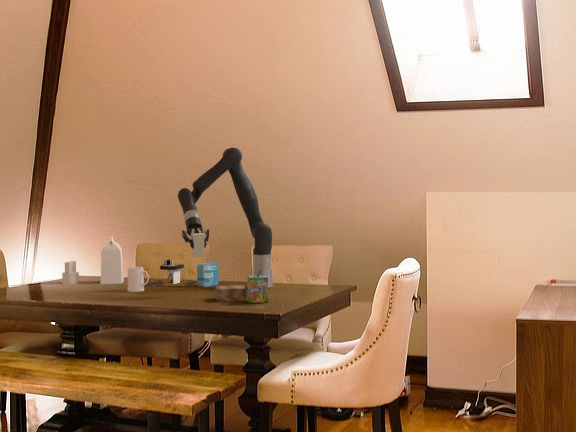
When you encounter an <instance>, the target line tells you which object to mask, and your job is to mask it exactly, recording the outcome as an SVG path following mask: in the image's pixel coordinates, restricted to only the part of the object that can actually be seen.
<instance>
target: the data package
mask: <svg viewBox="0 0 576 432" xmlns="http://www.w3.org/2000/svg"><path fill="white" fill-rule="evenodd" d="M196 278H197V279H196V281H197V283H196V284H197V286H198V287H201V288H206V287H207V288H208V287H215V286H219V263H216V262H206V263H198V264H197V265H196Z"/></svg>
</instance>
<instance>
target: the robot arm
mask: <svg viewBox="0 0 576 432" xmlns="http://www.w3.org/2000/svg"><path fill="white" fill-rule="evenodd" d="M242 153H243V152H242V151H241V150H240V149H239V148H237V147H229V148H226V149H225V150H224V151H223V153H222V156H221V158H220V160H219V161H218V162H216V163H215V165H213V166H211V167H210V168H209V169H208V170H206V171H205V172H204V173H203V174H201V175H200V176H199V177H197V179H196V180H194V181H193V183H192V185H191V186H192V191H191V190H190V189H189V188H187V187H183V188H180V190H179V191H178V192H177V198H178V201H179V204H180V207H181V209H182V213H183V216H184V217H183V218H184V224H185V228H186V230H182V231H181V236H182V238H183V240H184V242H185V243H189V245H190V248H191V250H192V249H194V243H193V240H192V234H197V233H203V234H204V249H206V247H207V242H208V241H209V238H210V229H208V228H207V229H204V228H203V225H202V222H201V219H200V218H201V217H200V215H199V211H198V209H197V206H196V204H197V202H198V201H199V199H200V198H201V196H202V195H203V193H205V191H206V190H207V189H208V188H210V187H211V185H213V184H214V183H215V182H216V181H217V180H218V179H219V178H220V177H221V176H223V175H224V174H226V172H227V171H228V173H229V174H230V177H231V179H232V180H231V181H232V184H233V187H234V190H235V192H236V196H237V198H238V200H239V204H240V206H241V208H242V210H243V212H244V214H245V217H246V219H247V222H248V225H249V229H250V233H251V236H252V237H253V239H254V246H253V247H254V248H253V249H252V252H253V253H252V258H253V259H252V261H253V262H252V263H253V265H252V266H253V267H252V268H253V269H252V271H253V274H252V276H257V275H258V271H259V269H260V273H259V276H267V277H268V289H269V288H273V286H274V285H273V284H274V283H273V279H274V278H273V269H272V248H273V232H272V231H273V230H272V228H271V226H270V225H269V224H266V223H265V222H264V220H263V218H262V215H261V213H260V208H259V207H260V206H259V200H258V197H257V194H256V190H255V189H254V186H253V184H252V182H251V180H250V179H249V177H248V176H247V174H246V172H245V170H244V168H243V165H242V159H243V154H242Z"/></svg>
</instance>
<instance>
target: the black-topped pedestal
mask: <svg viewBox="0 0 576 432" xmlns="http://www.w3.org/2000/svg"><path fill="white" fill-rule="evenodd" d="M184 268H185V264H181V263H179V264H177V263H174V260H171V258H169V259H165V261H163V264H162V265H160V266H159V269H160V270H161V271H162V270H164V271H165V270H167V280H168V283H172V282H173V284H177V283H180V281H181V269H184ZM162 281H163V280H162ZM162 281H161V279H159V280H156V281H152V282H148V283H147V284H146V285H144V287H154V286H153V285H156V286H155V287H158V286H159V287H161V285H163V284H164V283H163V282H162ZM190 281H191V282H188V283H185V285H184V287H187V286H190V285H194V284H197V280H190ZM165 283H166V282H165ZM157 284H158V285H157ZM149 285H150V286H149ZM163 286H164V285H163ZM159 287H158V288H159Z"/></svg>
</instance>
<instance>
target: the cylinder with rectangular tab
mask: <svg viewBox="0 0 576 432" xmlns="http://www.w3.org/2000/svg"><path fill="white" fill-rule="evenodd" d="M61 273H62V274H61V276H62V281H61V283H62V285H76V284H80V272H79V271H77V261H76V260H71V261H65V262H64V272H61Z"/></svg>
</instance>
